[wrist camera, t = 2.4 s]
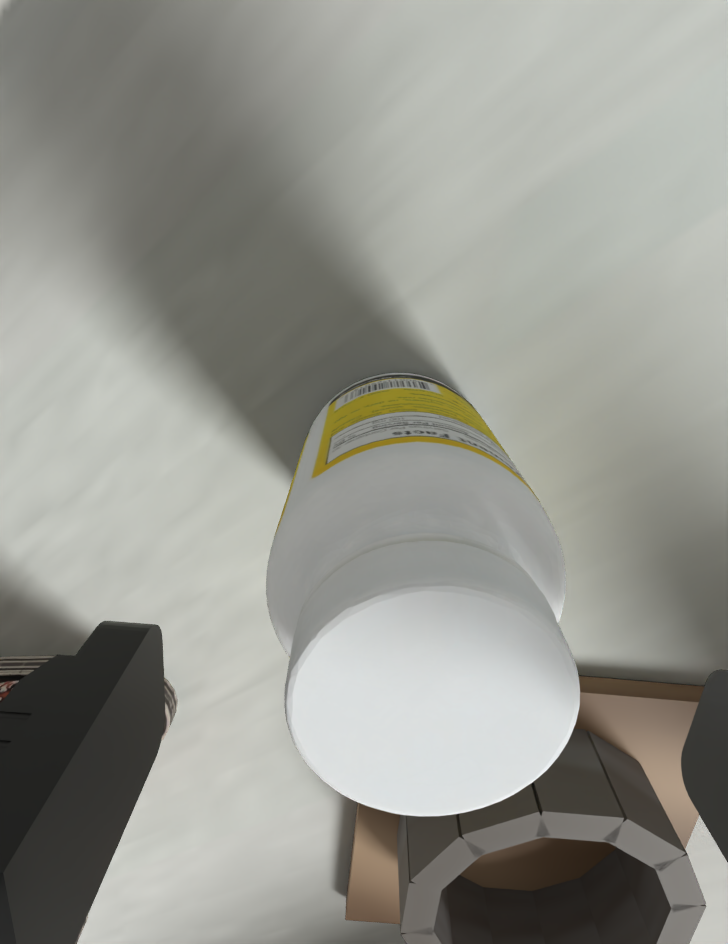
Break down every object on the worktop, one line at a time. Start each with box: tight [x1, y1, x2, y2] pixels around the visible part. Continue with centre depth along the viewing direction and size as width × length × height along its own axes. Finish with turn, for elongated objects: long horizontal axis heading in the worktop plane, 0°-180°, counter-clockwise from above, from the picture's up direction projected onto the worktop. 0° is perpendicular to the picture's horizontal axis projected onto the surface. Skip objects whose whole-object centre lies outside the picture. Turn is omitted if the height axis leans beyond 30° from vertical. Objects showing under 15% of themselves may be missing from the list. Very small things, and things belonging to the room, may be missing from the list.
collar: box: [345, 676, 706, 944], centre depth 20 cm, size 12×12×4 cm
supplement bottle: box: [266, 373, 580, 816], centre depth 12 cm, size 5×5×10 cm
